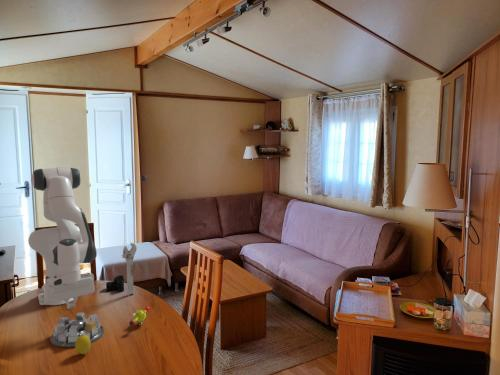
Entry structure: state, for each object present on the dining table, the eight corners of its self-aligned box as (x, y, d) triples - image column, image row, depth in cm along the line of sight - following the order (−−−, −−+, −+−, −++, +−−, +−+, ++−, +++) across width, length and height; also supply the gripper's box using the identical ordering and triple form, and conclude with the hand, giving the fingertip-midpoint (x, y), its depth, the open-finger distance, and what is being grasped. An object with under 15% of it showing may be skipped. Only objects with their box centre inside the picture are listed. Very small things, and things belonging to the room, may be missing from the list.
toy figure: (143, 316, 188) (142, 302, 188) (154, 317, 187) (153, 303, 187) (124, 333, 171) (124, 318, 170) (136, 334, 170) (135, 319, 169)
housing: (43, 335, 169) (43, 321, 168) (92, 320, 183) (92, 308, 182) (60, 353, 153) (59, 338, 153) (111, 336, 168) (111, 322, 167)
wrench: (124, 299, 209) (122, 244, 206) (122, 299, 210) (120, 244, 207) (138, 296, 214) (136, 242, 212) (136, 295, 216) (134, 241, 213)
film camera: (106, 288, 227) (105, 273, 226) (123, 286, 230) (123, 271, 230) (106, 297, 213) (106, 281, 212) (125, 295, 216) (124, 279, 215)
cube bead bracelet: (44, 339, 162) (43, 326, 162) (75, 321, 179) (74, 309, 179) (80, 345, 157) (79, 332, 156) (108, 326, 174) (108, 314, 174)
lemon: (78, 351, 155) (77, 331, 154) (92, 350, 156) (92, 331, 155) (73, 358, 150) (72, 338, 149) (88, 357, 150) (87, 337, 149)
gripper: (90, 270, 180) (92, 299, 181) (42, 280, 166) (44, 311, 167) (96, 273, 176) (97, 303, 177) (47, 283, 162) (48, 316, 163)
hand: (71, 307), depth 172 cm, fingers closed
